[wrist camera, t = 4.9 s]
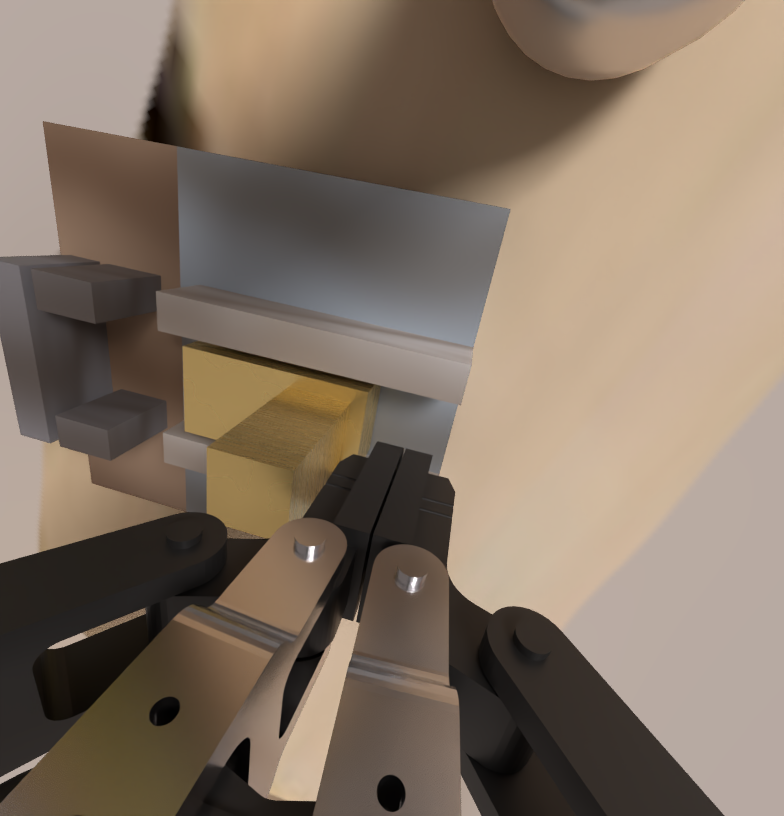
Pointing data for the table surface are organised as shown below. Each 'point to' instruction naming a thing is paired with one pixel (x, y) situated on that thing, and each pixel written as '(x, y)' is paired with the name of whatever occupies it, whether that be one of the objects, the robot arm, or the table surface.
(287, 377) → the bolt
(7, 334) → the lock board
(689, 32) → the silver threaded hollow container
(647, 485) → the table surface
